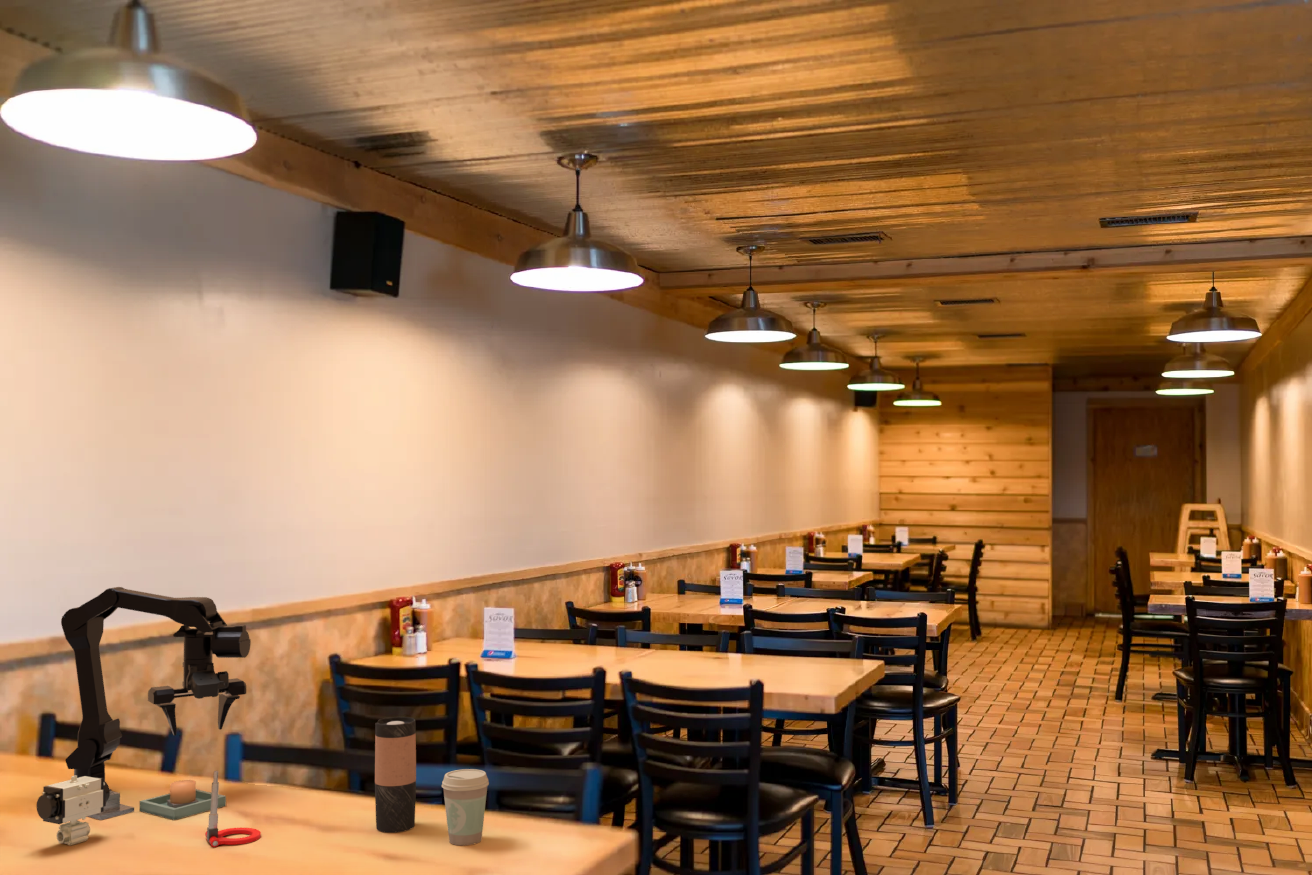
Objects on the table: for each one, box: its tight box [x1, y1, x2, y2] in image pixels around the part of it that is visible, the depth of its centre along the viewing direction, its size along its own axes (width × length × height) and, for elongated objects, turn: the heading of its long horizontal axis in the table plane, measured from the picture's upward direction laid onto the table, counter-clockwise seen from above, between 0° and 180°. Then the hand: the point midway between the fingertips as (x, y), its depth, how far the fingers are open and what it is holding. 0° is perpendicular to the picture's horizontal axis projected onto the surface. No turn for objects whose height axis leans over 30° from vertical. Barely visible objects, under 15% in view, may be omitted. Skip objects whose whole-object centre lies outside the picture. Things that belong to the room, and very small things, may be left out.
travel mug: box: [374, 716, 417, 834], centre depth 218 cm, size 8×8×20 cm
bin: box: [139, 788, 227, 821], centre depth 231 cm, size 12×12×2 cm
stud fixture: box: [87, 790, 135, 821], centre depth 228 cm, size 7×7×4 cm
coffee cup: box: [441, 768, 490, 846], centre depth 209 cm, size 8×8×12 cm
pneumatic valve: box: [35, 775, 110, 847], centre depth 210 cm, size 6×12×12 cm, turn 152°
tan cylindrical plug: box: [167, 779, 199, 808], centre depth 231 cm, size 5×5×4 cm
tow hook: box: [205, 770, 262, 848], centre depth 211 cm, size 8×13×9 cm
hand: (197, 732), depth 242 cm, fingers open, 9 cm apart
